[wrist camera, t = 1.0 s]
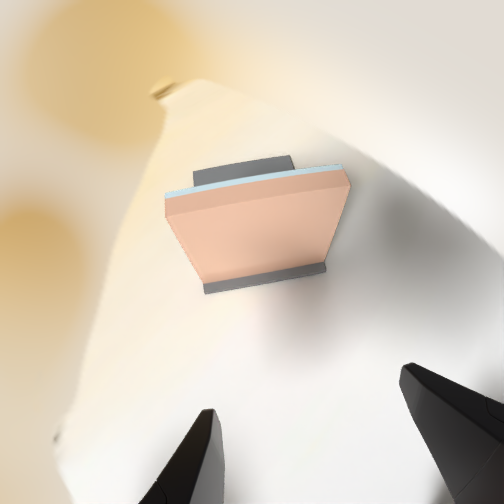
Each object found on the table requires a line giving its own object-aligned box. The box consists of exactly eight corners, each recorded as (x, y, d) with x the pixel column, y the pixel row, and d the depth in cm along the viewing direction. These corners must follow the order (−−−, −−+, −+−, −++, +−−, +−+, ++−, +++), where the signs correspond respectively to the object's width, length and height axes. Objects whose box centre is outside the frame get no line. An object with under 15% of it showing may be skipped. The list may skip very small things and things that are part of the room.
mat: (325, 271, 24) (326, 270, 24) (205, 294, 24) (204, 292, 24) (288, 157, 30) (289, 155, 30) (193, 174, 30) (192, 171, 29)
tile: (323, 261, 24) (350, 185, 15) (203, 283, 24) (165, 217, 15) (318, 244, 25) (341, 163, 16) (201, 265, 25) (164, 193, 16)
